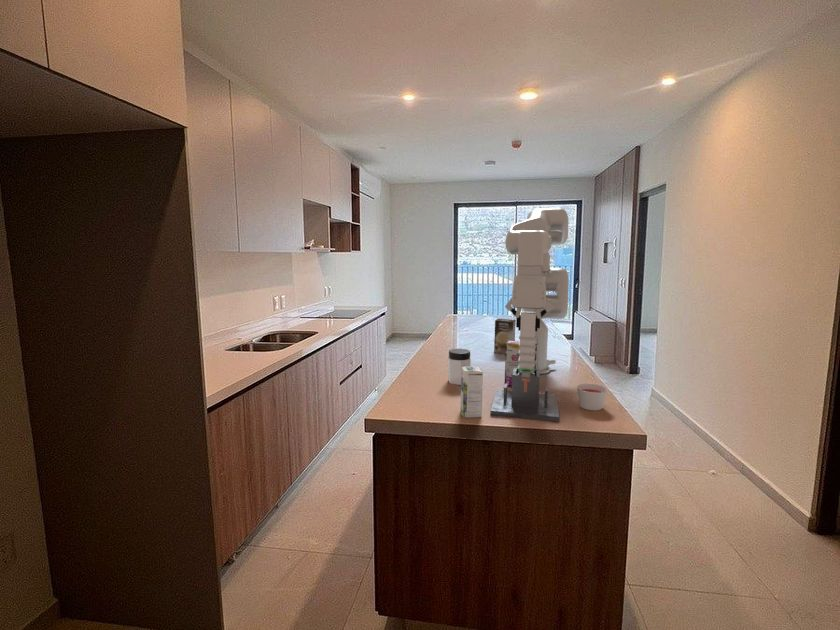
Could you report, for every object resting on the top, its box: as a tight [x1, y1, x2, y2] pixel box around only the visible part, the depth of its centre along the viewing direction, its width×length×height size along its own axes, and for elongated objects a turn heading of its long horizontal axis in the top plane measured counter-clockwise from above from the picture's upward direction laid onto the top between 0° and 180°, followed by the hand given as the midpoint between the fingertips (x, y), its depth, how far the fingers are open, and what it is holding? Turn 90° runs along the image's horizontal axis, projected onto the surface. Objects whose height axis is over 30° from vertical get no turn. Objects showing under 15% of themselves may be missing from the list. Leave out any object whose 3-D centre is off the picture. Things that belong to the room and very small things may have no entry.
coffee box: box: [493, 318, 516, 355], centre depth 209 cm, size 9×6×16 cm
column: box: [518, 310, 536, 375], centre depth 136 cm, size 5×5×22 cm
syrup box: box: [460, 365, 484, 419], centre depth 132 cm, size 6×6×14 cm
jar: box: [447, 348, 472, 386], centre depth 164 cm, size 9×8×12 cm
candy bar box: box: [504, 340, 538, 387], centre depth 159 cm, size 11×5×16 cm, turn 71°
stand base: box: [490, 368, 560, 423], centre depth 138 cm, size 20×20×13 cm
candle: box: [576, 383, 608, 411], centre depth 138 cm, size 9×9×6 cm
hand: (527, 329), depth 135 cm, fingers closed on column, 4 cm apart
